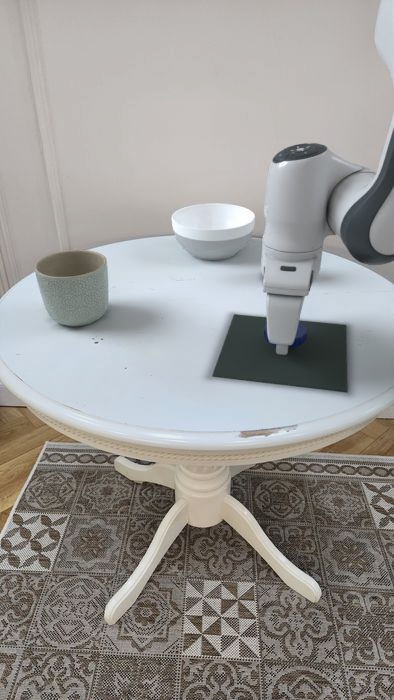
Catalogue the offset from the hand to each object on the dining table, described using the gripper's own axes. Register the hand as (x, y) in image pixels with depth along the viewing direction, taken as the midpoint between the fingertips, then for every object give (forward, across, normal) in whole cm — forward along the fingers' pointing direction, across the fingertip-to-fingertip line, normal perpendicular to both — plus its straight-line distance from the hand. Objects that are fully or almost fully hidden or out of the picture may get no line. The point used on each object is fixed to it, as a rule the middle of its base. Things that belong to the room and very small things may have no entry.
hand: (284, 339), depth 87 cm
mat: (+2, 0, 0) cm, 2 cm away
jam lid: (-2, 0, 0) cm, 2 cm away
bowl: (+2, -40, -20) cm, 45 cm away
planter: (+2, -4, -38) cm, 38 cm away
